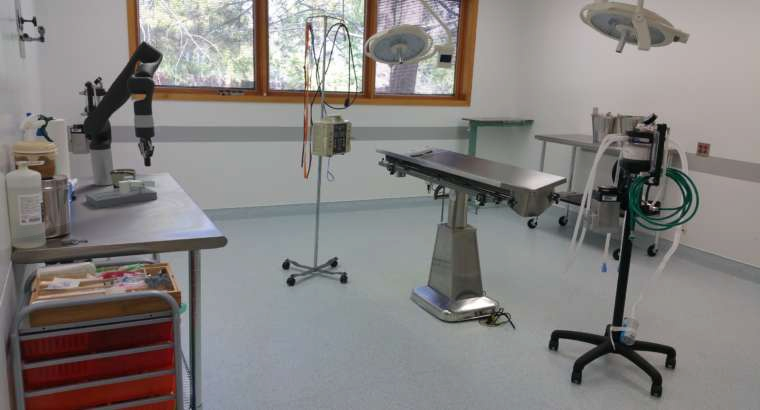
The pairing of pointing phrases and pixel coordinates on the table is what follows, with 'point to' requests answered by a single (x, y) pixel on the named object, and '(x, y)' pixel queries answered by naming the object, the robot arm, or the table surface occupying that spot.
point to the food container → (121, 176)
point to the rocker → (142, 183)
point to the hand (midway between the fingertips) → (147, 166)
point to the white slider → (124, 187)
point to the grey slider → (129, 179)
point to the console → (120, 197)
